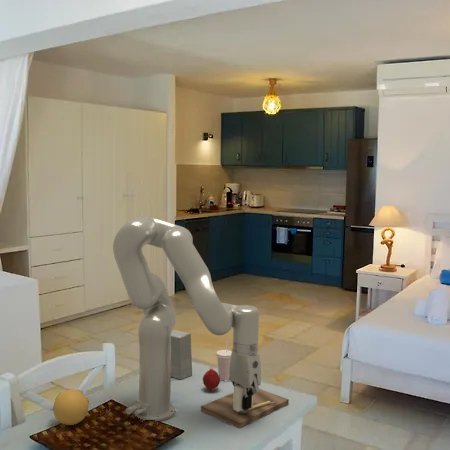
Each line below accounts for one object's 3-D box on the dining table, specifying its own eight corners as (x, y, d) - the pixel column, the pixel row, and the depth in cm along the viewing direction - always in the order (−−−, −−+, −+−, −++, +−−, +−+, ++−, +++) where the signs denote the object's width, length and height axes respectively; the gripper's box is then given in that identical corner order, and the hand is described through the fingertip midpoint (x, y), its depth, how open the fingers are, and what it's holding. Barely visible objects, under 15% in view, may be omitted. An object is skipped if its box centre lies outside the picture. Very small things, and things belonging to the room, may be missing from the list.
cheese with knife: (238, 416, 163) (239, 389, 162) (231, 412, 165) (232, 386, 164) (273, 405, 171) (274, 379, 170) (266, 401, 174) (267, 376, 173)
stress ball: (81, 434, 154) (101, 403, 160) (59, 415, 150) (80, 383, 156) (61, 428, 161) (81, 399, 167) (39, 410, 156) (60, 380, 162)
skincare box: (192, 375, 199) (193, 333, 197) (179, 381, 193) (180, 337, 192) (175, 369, 204) (176, 328, 203) (161, 375, 198) (162, 332, 197)
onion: (222, 389, 187) (223, 366, 186) (213, 395, 182) (214, 371, 181) (208, 385, 190) (209, 363, 189) (199, 391, 185) (199, 368, 184)
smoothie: (231, 383, 193) (232, 344, 192) (213, 381, 194) (214, 342, 193) (234, 376, 199) (235, 339, 198) (217, 374, 200) (218, 337, 199)
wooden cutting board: (239, 428, 159) (240, 422, 159) (200, 411, 170) (200, 405, 169) (288, 404, 177) (288, 398, 176) (250, 390, 187) (250, 384, 187)
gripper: (272, 352, 160) (270, 413, 162) (237, 338, 173) (236, 394, 174) (253, 357, 155) (251, 419, 157) (218, 342, 168) (217, 400, 170)
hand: (243, 405), depth 166 cm, fingers open, 2 cm apart
